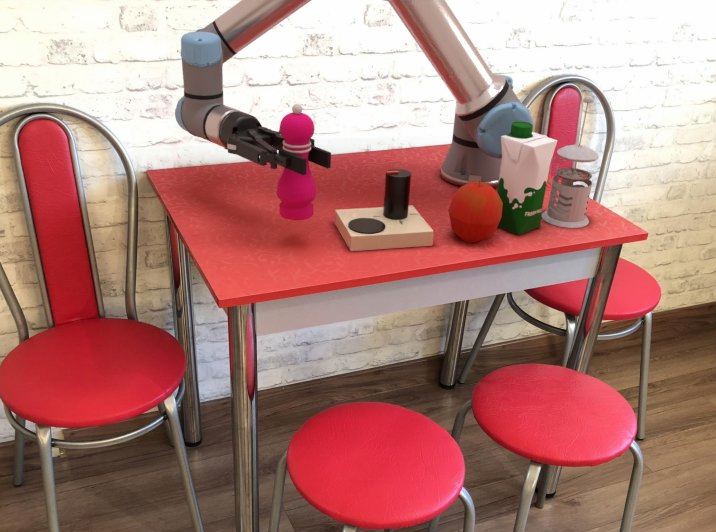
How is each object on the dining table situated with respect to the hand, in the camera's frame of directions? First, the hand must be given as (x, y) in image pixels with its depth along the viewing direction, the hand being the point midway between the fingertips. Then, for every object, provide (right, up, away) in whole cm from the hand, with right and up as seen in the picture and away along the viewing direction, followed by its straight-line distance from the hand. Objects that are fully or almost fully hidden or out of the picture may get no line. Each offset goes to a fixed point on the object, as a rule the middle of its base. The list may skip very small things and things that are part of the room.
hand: (316, 163), depth 137 cm
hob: (+12, -10, +17) cm, 23 cm away
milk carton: (+39, -7, +23) cm, 46 cm away
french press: (+50, -4, +29) cm, 58 cm away
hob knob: (+14, -6, +17) cm, 23 cm away
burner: (+9, -9, +12) cm, 17 cm away
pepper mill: (-4, -7, +9) cm, 12 cm away
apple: (+29, -10, +17) cm, 36 cm away
